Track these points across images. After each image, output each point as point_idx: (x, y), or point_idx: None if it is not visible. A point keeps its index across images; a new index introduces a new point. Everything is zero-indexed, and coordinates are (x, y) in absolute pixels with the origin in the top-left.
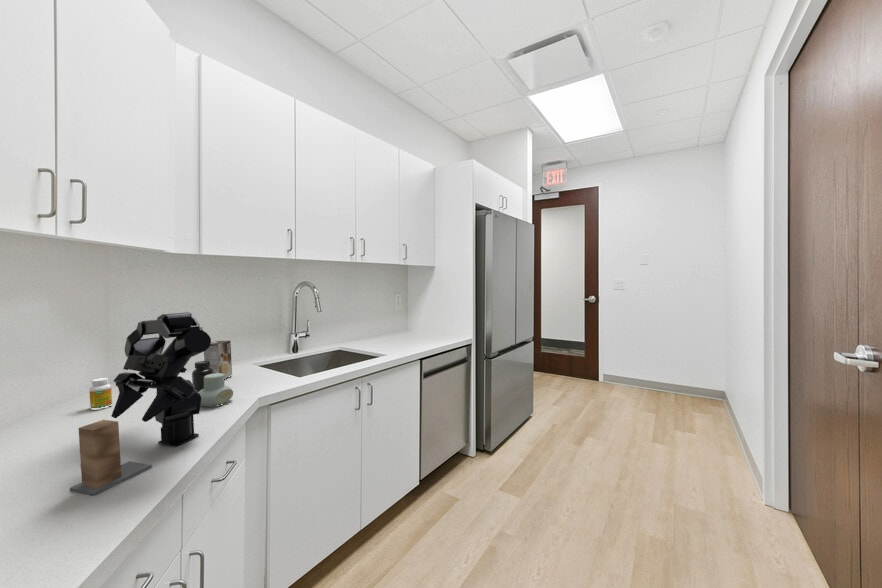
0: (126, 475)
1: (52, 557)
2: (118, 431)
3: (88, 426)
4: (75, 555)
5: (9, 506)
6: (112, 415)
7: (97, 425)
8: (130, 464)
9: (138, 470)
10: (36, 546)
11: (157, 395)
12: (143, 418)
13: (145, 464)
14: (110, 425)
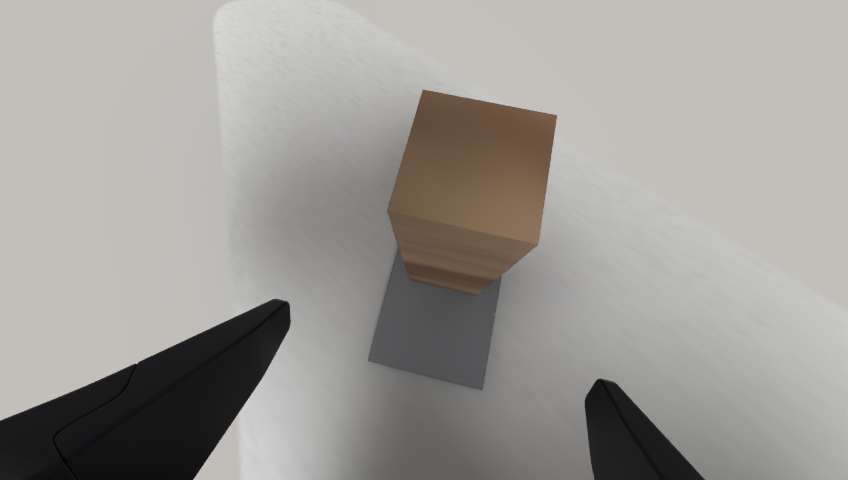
0: (398, 287)
1: (304, 33)
2: (395, 232)
3: (513, 133)
4: (267, 38)
5: (588, 157)
6: (604, 381)
7: (470, 149)
8: (451, 363)
9: (383, 319)
10: (363, 53)
11: (3, 471)
12: (270, 301)
13: (393, 363)
14: (399, 170)
